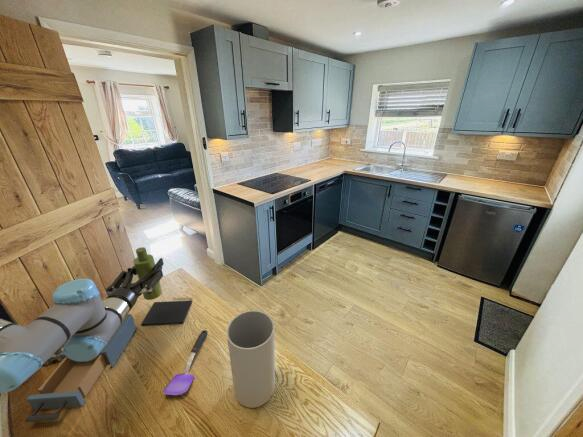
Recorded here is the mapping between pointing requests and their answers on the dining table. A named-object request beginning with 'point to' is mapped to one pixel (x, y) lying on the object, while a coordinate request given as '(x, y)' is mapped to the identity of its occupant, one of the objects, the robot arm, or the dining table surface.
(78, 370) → the drawer
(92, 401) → the dining table surface
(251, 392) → the cylinder vase
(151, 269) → the oil bottle
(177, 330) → the dining table surface
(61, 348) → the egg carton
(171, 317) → the mat
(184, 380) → the spatula
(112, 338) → the cabinet
